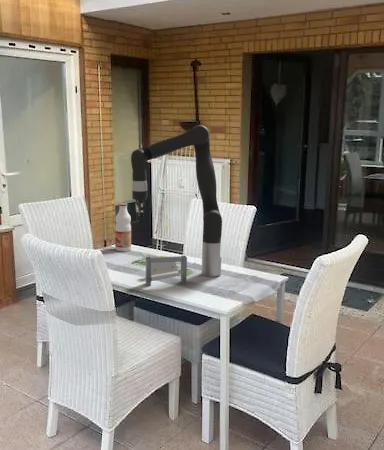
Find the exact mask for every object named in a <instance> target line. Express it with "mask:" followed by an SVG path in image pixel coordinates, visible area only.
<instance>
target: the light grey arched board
mask: <svg viewBox="0 0 384 450" xmlns="http://www.w3.org/2000/svg"><path fill="white" fill-rule="evenodd" d="M176 276H177V277H181V274H180V271H179V269H178V267H177V262H160V263H151V282H152V281H153V282H155V281H157V280H158V281H159V280H166V279H170V278H171V279H172V278H177V277H176Z"/></svg>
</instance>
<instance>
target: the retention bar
mask: <svg viewBox="0 0 384 450" xmlns="http://www.w3.org/2000/svg"><path fill="white" fill-rule="evenodd" d="M160 262H175V263H180V283H181V285H187V274H188V271H187V269H188V258H187V256H186V255H179V256H178V255H177V256H151V257H150V256H146V257H145V285H146V287H151V286H152V279H151V263H160Z"/></svg>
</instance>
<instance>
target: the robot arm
mask: <svg viewBox="0 0 384 450" xmlns="http://www.w3.org/2000/svg"><path fill="white" fill-rule="evenodd" d="M190 146H191V147H192V146H193V148H194V153H195V175H196V182H197V187H198V191H199V194H200V198H201V200H202V201H201V203H202V213H203V214H202V221H203V223H202V224H203V227H202V228H203V229H202V247H201V248H202V249H201V251H202V252H201V275H202V276H204V277H209V278H210V277H211V278H212V277H213V278H215V277H219V276H221V274H222V271H221V270H222V256H221V250H222V249H221V246H222V244H221V243H222V233H223V217H222V215H221V212H220V209H219V204H218V201H217V200H218V198H217V177H216V173H215V167H214V162H213V158H212V154H211V148H210V147H211V146H210V131H209V129H208V127H206V126H205V125H203V124H198V125H195V126H193V127H192V128H191V129H189V130H188V131H186V132H184V133H182V134H178V135H177V136H174V137H173V136H172V137H169V138H166V139H163V140H160V141H157V142H155V143H151V144H150V145H147V146H144V147H142V148H138V149H135V150H133V151H132V153H131V156H130V161H131V162H130V164H131V170H132V177H131V178H132V183H131V189H132V190H131V193H132V194H131V196H132V200H135V212H136V220H137V221H138V223H139V224H145V223H144V221H145V219H144V218H145V217H144V216H145V212H146V211H145V202H144V201H145V200H148V181H147V179H148V175H147V170H146V162H148V161H152V159H158V158H160V157H164V156H165V155H169V154H171V153H173V152H176V151H178V150H180V149H183V148H186V147H190Z"/></svg>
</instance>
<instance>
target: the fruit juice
mask: <svg viewBox="0 0 384 450" xmlns="http://www.w3.org/2000/svg"><path fill="white" fill-rule="evenodd" d="M118 207H119V209H118V213H117V214H116V215H115V223H116V224H115V227H114V228H115V229H114V230H115V231H114V233H115V235H114V236H115V237H114V240H115V241H114V248H115V250H116V251H118V252H130V251H131V250H132V224H131V221H132V219H131V218H132V217H131V214H129V212H128V203H126V202H121V203H118Z"/></svg>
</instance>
